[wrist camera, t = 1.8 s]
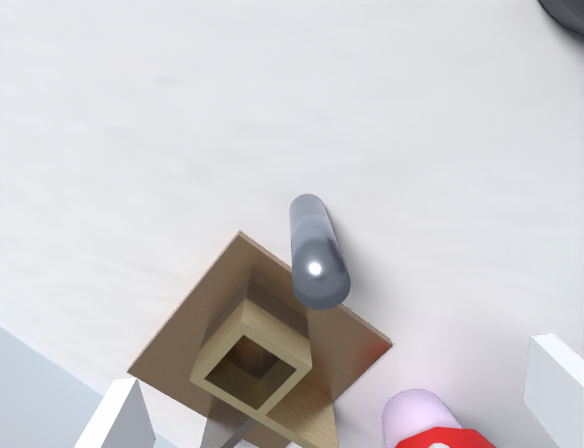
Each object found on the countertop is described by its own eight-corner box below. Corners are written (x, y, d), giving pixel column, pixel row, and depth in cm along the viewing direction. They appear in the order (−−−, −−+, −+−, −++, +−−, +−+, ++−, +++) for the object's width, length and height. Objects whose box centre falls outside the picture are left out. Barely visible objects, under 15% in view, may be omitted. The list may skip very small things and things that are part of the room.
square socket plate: (239, 230, 32) (226, 268, 25) (389, 338, 36) (415, 398, 29) (131, 364, 36) (93, 430, 29) (275, 448, 40) (273, 523, 33)
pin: (305, 187, 31) (318, 247, 18) (332, 208, 31) (362, 280, 19) (282, 214, 31) (281, 289, 19) (309, 234, 32) (324, 320, 20)
